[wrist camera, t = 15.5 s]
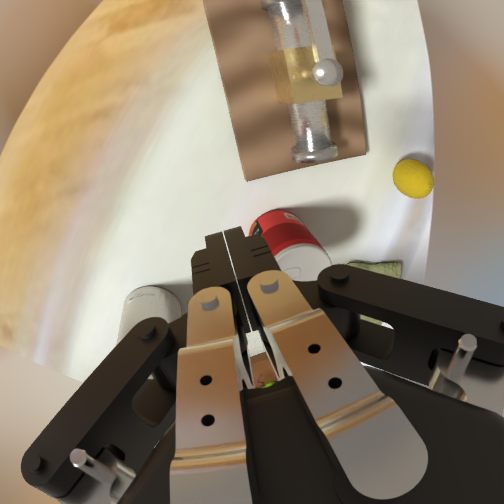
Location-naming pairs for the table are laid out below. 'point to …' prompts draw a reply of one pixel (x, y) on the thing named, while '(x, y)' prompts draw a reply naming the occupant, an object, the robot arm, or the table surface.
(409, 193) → the lemon
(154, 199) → the table surface
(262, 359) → the plant
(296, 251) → the canned food
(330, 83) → the valve lever
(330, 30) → the walnut board
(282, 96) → the valve body
